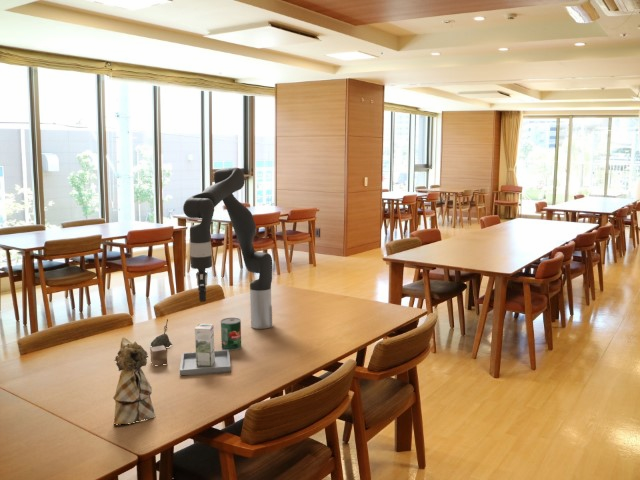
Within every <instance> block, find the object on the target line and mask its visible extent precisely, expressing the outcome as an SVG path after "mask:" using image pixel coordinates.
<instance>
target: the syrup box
mask: <svg viewBox="0 0 640 480" xmlns="http://www.w3.org/2000/svg"><path fill="white" fill-rule="evenodd" d="M214 326H215V325H214V323H198V324H197V325H196V326H195V327H194V339H195V341H194V343H195V352H196V365H197V366H212V365H213V363H214V362H215V353H214V351H215V332H214V331H215V330H214V328H215V327H214Z"/></svg>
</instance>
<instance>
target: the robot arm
mask: <svg viewBox="0 0 640 480" xmlns="http://www.w3.org/2000/svg"><path fill="white" fill-rule="evenodd" d="M245 178H246V177H245V173H244V171H243V170H242V169H241V168H240V167H226V168H221V169H217V170H216V171H215V172H214V173H213V180H214V183H213V184H211V185H209V186H207V188H205V189H204V190H203V191H202V192H200V193H197V194H194V195H192V196H190V197H188V198H187V199H186V200H185V201H184V203H183V208H182V209H183V213H184V214H185V216H186V217H188V218H190V219H201V222H200V223H198V224H193V225H191V226H190V228H189V241H190V243H189V244H190V245H189V256H190V268H191V269H193V270H197V271H196V273H195V278H196V285H197V286H198V288H197V290H198V299H199V300H198V301H199V303H200V302H202V303H203V302H206V301H207V297H206V296H207V287H206V286H207V285H208V271H207V270H206V269H211V268H212V266H213V257H212V256H213V255H212V254H213V253H212V250H213V249H212V243H211V227H212V222H213V216H214V212H215V208H216V207H217V206H218V205H219V204H220V203H221V202H223V204H224V207H225V209H226V211H227V214H228V216H229V220H230V224H231V226H232V228H233V231H234V233H235V235H236V238H237V242H238V244H239V247H240V251H241V254H242V258H243V262H244V266H245V268H246V270H247V272H250V273H253V274H259V276H258V279H254V280H252V281H250V282H249V297H250V302H249V303H250V304H249V305H250V327H251V328H252V329H255V330H258V329H259V330H261V329H269V328H273V306H272V282H273V257H272V255H271V254H270V253H268V252H260V251H256V250H255V247H254V244H253V240H254V238H255V234H256V231H257V226H256V221H255V219H254V216H253V213H252V212H251V211H250V209H248V208H247V206H245V205H244V204H243V203H242V202H241V201H239V200H238V199H237V198H236V197H235V195H234V193H236V192H239V191H240V190H241V189H243V187H244V185H245V182H246V181H245Z"/></svg>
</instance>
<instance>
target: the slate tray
mask: <svg viewBox="0 0 640 480" xmlns="http://www.w3.org/2000/svg"><path fill="white" fill-rule="evenodd" d="M214 353H215V362H214V363H213V365H212V366H197V365H196V351H194V352H193V351H191V352H181V356H180V357H181V359H180V365H179V376H180V375H189V376H200V375H213V374H226V373H231V372H232V369H231V368H232V367H231V357H230V354H231V353H230V350H224V349H222V350H214Z"/></svg>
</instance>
